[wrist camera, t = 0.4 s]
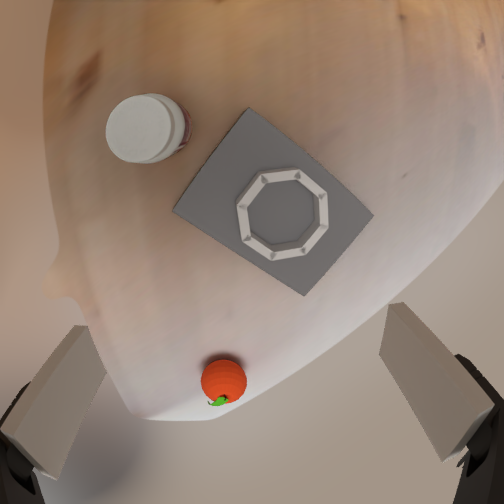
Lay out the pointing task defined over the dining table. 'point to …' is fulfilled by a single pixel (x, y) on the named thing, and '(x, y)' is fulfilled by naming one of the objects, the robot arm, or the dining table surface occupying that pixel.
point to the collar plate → (273, 204)
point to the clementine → (223, 382)
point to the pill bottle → (147, 128)
